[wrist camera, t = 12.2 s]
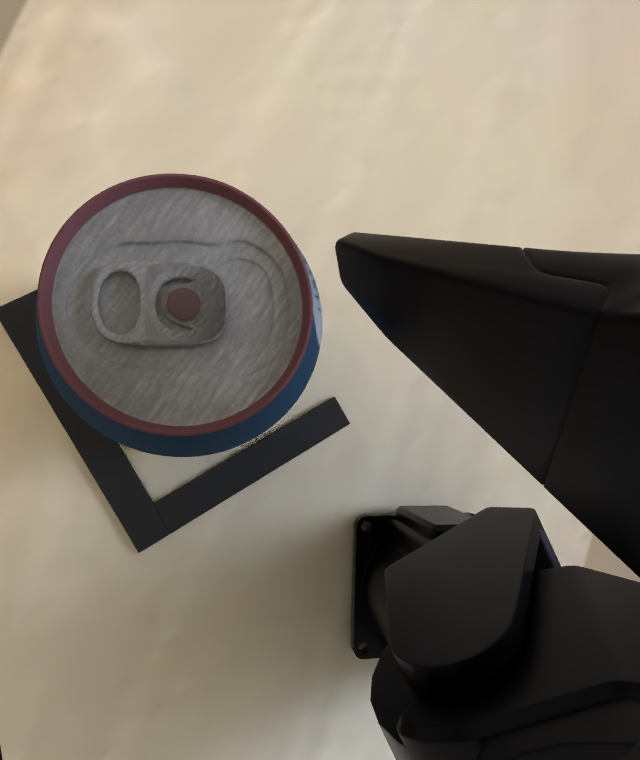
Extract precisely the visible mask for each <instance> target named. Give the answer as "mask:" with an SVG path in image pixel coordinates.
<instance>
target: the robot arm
mask: <svg viewBox="0 0 640 760" xmlns="http://www.w3.org/2000/svg"><path fill="white" fill-rule="evenodd" d="M335 248H336V255H337V261H338V267H339V273H340V278H341V281H342V283H343V285H344V287H345V288H346V289H347V290H348V292H349V293H350V294H351V295H352V296H353V298H354V299H355V300H356V301H357V303H358V304H359V305H360V306H361V307H362V309H363V310H364V311H365V312H366V313H367V315H368V316H369V317H370V318H371V319H372V321H373V322H374V323H375V324H376V326H377V327H378V328H379V329H380V330H381V331H382V333H383V334H384V335H385V336H386V337H387V338H388V339H389V340H390V341H391V342H392V343H393V344H394V345H395V346H396V347H397V348H398V349H399V350H400V351H401V352H402V353H403V354H405V355H406V356H407V357H408V358H409V359H410V360H411V361H412V362H413V363H414V364H415V365H416V366H417V367H418V368H419V369H420V370H421V371H422V372H424V373H425V374H426V375H427V376H428V377H429V378H430V379H431V380H432V381H433V382H434V383H435V384H436V385H437V386H438V387H439V388H440V389H441V390H443V391H444V392H445V393H446V394H447V395H448V396H449V397H450V398H451V399H452V400H453V401H454V402H455V403H456V404H457V405H458V406H459V407H460V408H462V409H463V410H464V411H465V412H466V413H467V414H468V415H469V416H470V417H471V418H472V419H473V420H474V421H475V422H476V423H477V424H478V425H479V426H481V427H482V428H483V429H484V430H485V431H486V432H487V433H488V434H489V435H490V436H491V437H492V438H493V439H494V440H495V441H496V442H497V443H498V444H500V445H501V446H502V447H503V448H504V449H505V450H506V451H507V452H508V453H509V454H510V455H511V456H512V457H513V458H514V459H515V460H516V461H517V462H519V463H520V464H521V465H522V466H523V467H524V468H525V469H526V470H527V471H528V472H529V473H530V474H531V475H532V476H533V477H534V478H535V479H536V480H538V481H539V482H540V483H541V484H542V485H544V487H545V488H546V489H547V490H548V491H549V492H550V493H551V494H552V495H553V496H554V497H555V498H556V499H557V500H558V501H559V502H560V503H561V504H562V505H563V506H565V507H566V508H567V509H568V510H569V511H570V512H571V513H572V514H573V515H574V516H575V517H576V518H577V519H578V520H579V521H580V522H581V523H583V524H584V525H585V526H586V527H587V528H588V529H589V530H590V531H591V532H592V533H593V534H594V535H595V536H596V537H597V538H598V539H600V540H601V541H602V542H603V543H604V544H605V545H606V546H607V547H608V548H609V549H610V550H611V551H612V552H613V553H614V554H615V555H616V556H617V557H618V558H620V559H621V560H622V561H623V562H624V563H625V564H626V565H627V566H628V567H629V568H630V569H631V570H632V571H633V572H634V573H635V574H636V575H637V576H639V577H640V254H612V253H589V252H570V251H557V250H543V249H533V248H524V249H523V250H522V248H520V247H510V246H499V245H488V244H477V243H466V242H455V241H444V240H433V239H422V238H411V237H401V236H390V235H379V234H368V233H357V232H354V233H351V234H349V235H347V236H345V237H343V238H341V239H339V240H338V241H337V242H336V246H335ZM365 521H368V522H369V527H368V528H367V529H366V530H362V528H361V526H362V524H363V522H365ZM363 642H366V646H365V648H364V649H358V648H359V645H360V644H361V643H363ZM351 648H352V650H353V652H354V654H355V655H356V657H358V658H359V659H371V658H380V659H379V661H378V664H377V666H376V668H375V671H374V673H373V675H372V686H371V703H372V706H373V709H374V711H375V714H376V717H377V720H378V723H379V725H380V727H381V729H382V731H383V733H384V735H385V737H386V739H387V742H388V744H389V746H390V748H391V750H392V752H393V754H394V756H395V758H396V760H640V582H636V581H633V580H629V579H625V578H621V577H618V576H613V575H610V574H607V573H603V572H599V571H595V570H592V569H588V568H584V567H579V566H564V567H561V565H560V563H559V561H558V559H557V557H556V555H555V552H554V550H553V548H552V546H551V544H550V541H549V539H548V537H547V535H546V533H545V531H544V528H543V526H542V524H541V522H540V520H539V517H538V515H537V513H536V511H535V510H534V509H532V508H508V507H489V508H486V509H484V510H482V511H480V512H479V513H477V514H472V513H462V512H460V511H458V510H455V509H453V508H450V507H448V506H400V507H399V508H398V509H397V510H396V514H363V515H360V516H358V517H357V518H356V520H355V522H354V543H353V582H352V621H351ZM0 760H2V753H1V747H0Z"/></svg>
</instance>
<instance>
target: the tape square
mask: <svg viewBox="0 0 640 760" xmlns="http://www.w3.org/2000/svg"><path fill="white" fill-rule="evenodd" d="M37 295H38V290H36V291H34V292H31V293H29V294H27V295H25V296H23V297H20V298H18V299H16V300H14V301H12V302H10V303H7V304H5V305H3V306H1V307H0V322H1V323H2V325H3V327H4V328H5V330H6V332H7V333H8V335H9V337H10V338H11V340H12V342H13V343H14V345H15V347H16V348H17V350H18V352H19V353H20V355H21V357H22V358H23V360H24V362H25V363H26V365H27V367H28V368H29V370H30V372H31V373H32V375H33V377H34V378H35V380H36V382H37V383H38V385H39V387H40V388H41V390H42V392H43V393H44V395H45V397H46V398H47V400H48V402H49V403H50V405H51V407H52V408H53V410H54V412H55V413H56V415H57V417H58V418H59V420H60V422H61V423H62V425H63V427H64V428H65V430H66V432H67V433H68V435H69V437H70V438H71V440H72V442H73V443H74V445H75V447H76V449H77V450H78V452H79V454H80V455H81V457H82V459H83V460H84V462H85V464H86V465H87V467H88V469H89V470H90V472H91V474H92V475H93V477H94V479H95V480H96V482H97V484H98V485H99V487H100V489H101V490H102V492H103V494H104V495H105V497H106V499H107V500H108V502H109V504H110V505H111V507H112V509H113V510H114V512H115V514H116V515H117V517H118V519H119V520H120V522H121V524H122V525H123V527H124V529H125V530H126V532H127V534H128V535H129V537H130V539H131V540H132V542H133V544H134V545H135V547H136V549H137V550H138V552H141V551H143V550H144V549H146V548H148V547H149V546H151V545H153V544H154V543H156V542H157V541H159V540H161V539H162V538H164V537H166V536H167V535H169V534H170V533H172V532H174V531H175V530H177V529H179V528H180V527H182V526H184V525H185V524H187V523H188V522H190V521H192V520H193V519H195V518H197V517H198V516H200V515H201V514H203V513H205V512H206V511H208V510H210V509H211V508H213V507H215V506H216V505H218V504H219V503H221V502H223V501H224V500H226V499H228V498H229V497H231V496H232V495H234V494H236V493H237V492H239V491H241V490H242V489H244V488H246V487H247V486H249V485H250V484H252V483H254V482H255V481H257V480H259V479H260V478H262V477H264V476H265V475H267V474H268V473H270V472H272V471H273V470H275V469H277V468H278V467H280V466H281V465H283V464H285V463H286V462H288V461H290V460H291V459H293V458H295V457H296V456H298V455H299V454H301V453H303V452H304V451H306V450H308V449H309V448H311V447H312V446H314V445H316V444H317V443H319V442H321V441H322V440H324V439H326V438H327V437H329V436H330V435H332V434H334V433H335V432H337V431H339V430H340V429H342V428H343V427H345V426H347V425H348V424H350V423H349V421H348V419H347V418H346V416H345V414H344V412H343V411H342V409H341V407H340V405H339V403H338V402H337V400H336V398H335V397H333V398H331V399H329V400H328V401H326V402H324V403H323V404H321V405H319V406H318V407H316V408H314V409H312V410H311V411H309V412H307V413H306V414H304V415H302V416H301V417H299V418H297V419H296V420H294V421H292V422H291V423H289V424H287V425H285V426H284V427H282V428H280V429H279V430H277V431H275V432H274V433H272V434H270V435H269V436H267V437H265V438H264V439H262V440H260V441H258V442H257V443H255V444H253V445H252V446H250V447H248V448H247V449H245V450H243V451H242V452H240V453H238V454H237V455H235V456H233V457H231V458H230V459H228V460H226V461H225V462H223V463H221V464H220V465H218V466H216V467H215V468H213V469H211V470H210V471H208V472H206V473H204V474H203V475H201V476H199V477H198V478H196V479H194V480H193V481H191V482H189V483H188V484H186V485H184V486H183V487H181V488H179V489H177V490H176V491H174V492H172V493H171V494H169V495H167V496H166V497H164V498H162V499H161V500H159V501H157V502H156V503H153V502H152V500H151V498H150V497H149V495H148V493H147V492H146V490H145V488H144V486H143V485H142V483H141V481H140V480H139V478H138V476H137V475H136V473H135V471H134V470H133V468H132V466H131V465H130V463H129V461H128V460H127V458H126V456H125V454H124V453H123V451H122V449H121V448H120V446H119V444H118V443H117V442H116V441H114V440H112V439H110V438H108V437H107V436H105V435H103V434H102V433H100V432H99V431H97V430H96V429H94V428H93V427H92V426H90V425H89V424H88V423H87V422H85V421H84V420H83V419H82V418H81V417H80V416H79V415H78V414H77V413H76V412H75V411H74V410H73V409H72V408H71V407H70V406H69V405H68V403H67V402H66V401H65V400H64V398H63V397H62V396H61V394H60V393H59V391H58V390H57V388H56V387H55V385H54V383H53V382H52V380H51V378H50V376H49V374H48V371H47V369H46V367H45V364H44V361H43V359H42V355H41V352H40V348H39V344H38V339H37V331H36V302H37Z"/></svg>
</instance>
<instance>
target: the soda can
mask: <svg viewBox="0 0 640 760" xmlns="http://www.w3.org/2000/svg"><path fill="white" fill-rule="evenodd" d="M36 331H37V339H38V344H39V348H40V352H41V355H42V359H43V361H44V364H45V367H46V369H47V371H48V374H49V376H50V378H51V380H52V382H53V383H54V385H55V387H56V388H57V390H58V391H59V393H60V394H61V396H62V397H63V398H64V400H65V401H66V402H67V403H68V405H69V406H70V407H71V408H72V409H73V410H74V411H75V412H76V413H77V414H78V415H79V416H80V417H81V418H82V419H83V420H84V421H85V422H87V423H88V424H89V425H90V426H92V427H93V428H94V429H96V430H97V431H99V432H100V433H102V434H103V435H105V436H107V437H108V438H110V439H112V440H114V441H116V442H118V443H120V444H123V445H125V446H127V447H130V448H133V449H136V450H139V451H142V452H146V453H151V454H156V455H162V456H172V457H192V456H202V455H209V454H214V453H218V452H222V451H225V450H228V449H232V448H234V447H237V446H239V445H242V444H244V443H246V442H248V441H250V440H252V439H254V438H255V437H257V436H259V435H260V434H262V433H263V432H265V431H266V430H268V429H269V428H270V427H272V426H273V425H274V424H275V423H276V422H278V421H279V420H280V419H281V418H282V417H283V416H284V415H285V414H286V413H287V412H288V411H289V409H290V408H291V407H292V406H293V405H294V403H295V402H296V401H297V399H298V398H299V397H300V395H301V394H302V392H303V390H304V389H305V387H306V385H307V383H308V381H309V379H310V377H311V375H312V372H313V370H314V367H315V364H316V361H317V357H318V354H319V349H320V343H321V335H322V312H321V304H320V298H319V293H318V289H317V286H316V283H315V280H314V277H313V274H312V272H311V270H310V268H309V265H308V263H307V261H306V260H305V258H304V256H303V254H302V253H301V251H300V250H299V248H298V247H297V245H296V244H295V242H294V241H293V239H292V238H291V236H290V235H289V233H288V232H287V231H286V229H285V228H284V227H283V226H282V224H281V223H280V222H279V221H278V220H277V219H276V218H275V217H274V216H273V215H272V214H271V213H270V212H269V211H268V210H267V209H266V208H264V207H263V206H262V205H261V204H260V203H258V202H257V201H256V200H254V199H253V198H251V197H250V196H248V195H247V194H245V193H244V192H242V191H240V190H238V189H236V188H234V187H232V186H230V185H228V184H225V183H223V182H220V181H217V180H214V179H210V178H206V177H201V176H196V175H187V174H157V175H149V176H143V177H139V178H135V179H131V180H128V181H125V182H122V183H119V184H117V185H115V186H112V187H110V188H108V189H106V190H104V191H102V192H101V193H99V194H97V195H96V196H94V197H93V198H91V199H90V200H89V201H87V202H86V203H85V204H83V205H82V206H81V207H80V208H79V209H78V210H77V211H75V212H74V213H73V215H72V216H71V217H70V218H69V219H68V220H67V221H66V222H65V224H64V225H63V226H62V227H61V229H60V230H59V232H58V233H57V235H56V236H55V238H54V240H53V242H52V243H51V245H50V247H49V250H48V252H47V254H46V257H45V259H44V262H43V265H42V269H41V273H40V278H39V284H38V295H37V302H36Z"/></svg>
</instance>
